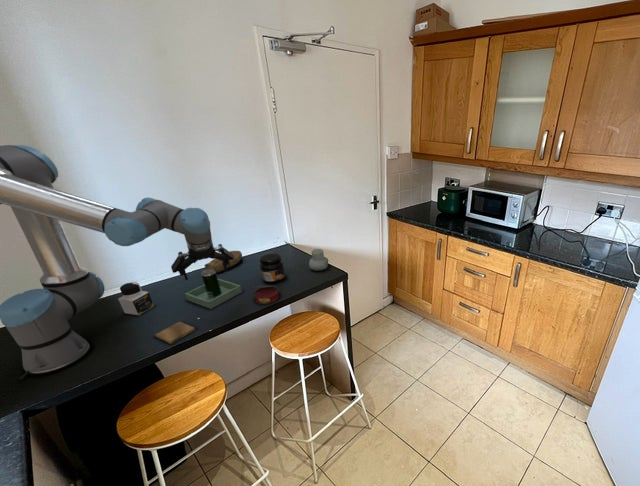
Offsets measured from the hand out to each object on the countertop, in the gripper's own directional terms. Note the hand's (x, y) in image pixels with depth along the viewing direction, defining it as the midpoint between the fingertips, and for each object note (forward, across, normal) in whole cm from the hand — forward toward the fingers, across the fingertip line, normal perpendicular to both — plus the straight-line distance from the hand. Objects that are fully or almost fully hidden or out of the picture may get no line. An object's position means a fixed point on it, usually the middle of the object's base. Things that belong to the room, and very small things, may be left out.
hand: (206, 272), depth 124 cm
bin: (+19, +2, -2) cm, 19 cm away
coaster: (+6, -15, -19) cm, 25 cm away
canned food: (+9, +19, -14) cm, 26 cm away
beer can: (+19, +2, -2) cm, 19 cm away
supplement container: (+18, +27, -2) cm, 33 cm away
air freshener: (+17, +50, -4) cm, 53 cm away
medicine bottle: (+23, -25, +3) cm, 35 cm away
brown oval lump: (+37, +12, +21) cm, 45 cm away
